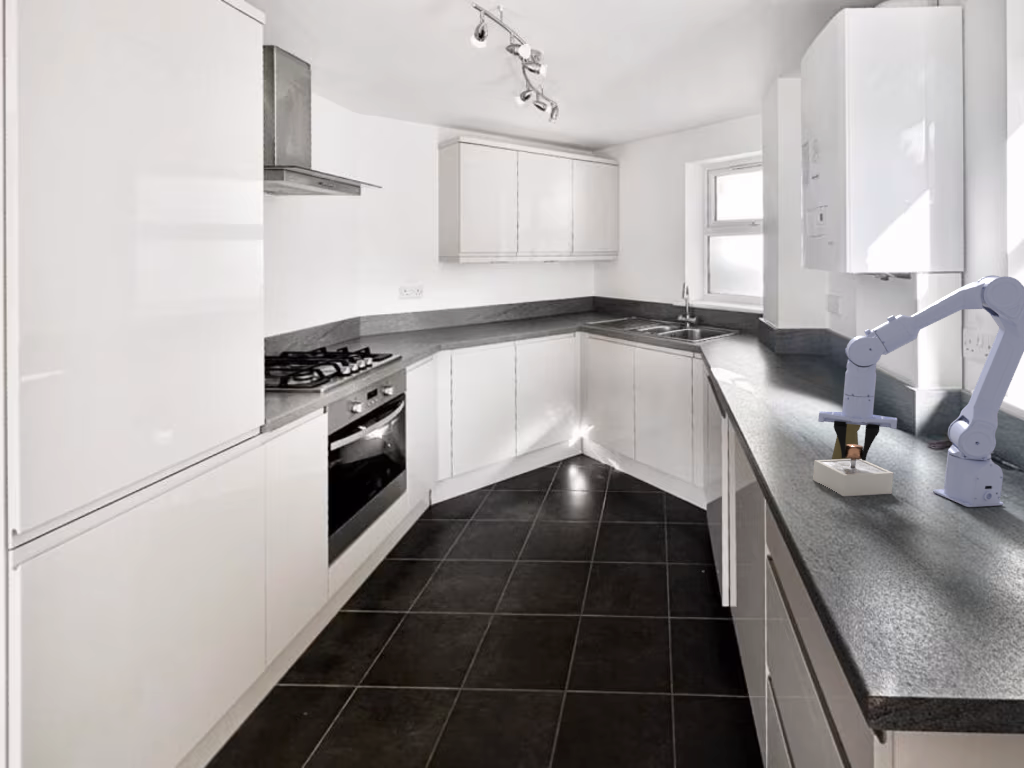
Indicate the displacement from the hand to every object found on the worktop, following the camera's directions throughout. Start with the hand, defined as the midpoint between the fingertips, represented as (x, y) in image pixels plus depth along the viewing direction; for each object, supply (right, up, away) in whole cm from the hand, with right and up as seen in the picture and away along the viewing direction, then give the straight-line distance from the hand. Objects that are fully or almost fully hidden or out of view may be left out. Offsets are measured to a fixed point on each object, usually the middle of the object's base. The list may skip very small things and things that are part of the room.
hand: (853, 458), depth 147 cm
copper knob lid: (0, -2, 0) cm, 2 cm away
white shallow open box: (0, -6, +1) cm, 6 cm away
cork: (+7, -3, +19) cm, 21 cm away
